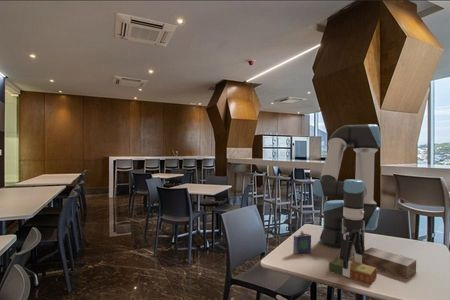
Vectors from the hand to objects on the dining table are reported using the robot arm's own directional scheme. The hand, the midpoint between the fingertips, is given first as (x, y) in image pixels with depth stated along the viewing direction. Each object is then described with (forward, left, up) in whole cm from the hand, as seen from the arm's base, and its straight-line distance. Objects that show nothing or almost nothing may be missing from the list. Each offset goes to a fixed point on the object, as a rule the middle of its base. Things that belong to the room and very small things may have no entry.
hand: (352, 273), depth 111 cm
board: (-11, +22, -1) cm, 25 cm away
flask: (-26, +2, -1) cm, 26 cm away
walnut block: (+6, +19, -1) cm, 20 cm away
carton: (0, 0, -1) cm, 1 cm away
